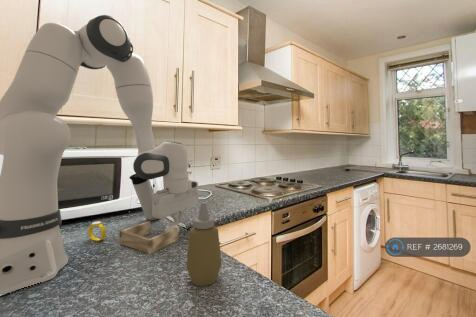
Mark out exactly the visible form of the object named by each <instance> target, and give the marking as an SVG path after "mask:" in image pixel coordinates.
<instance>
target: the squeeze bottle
mask: <svg viewBox="0 0 476 317" xmlns="http://www.w3.org/2000/svg"><path fill="white" fill-rule="evenodd" d="M188 234H189V235H188V236H189V237H188V243H187V244H188V245H187V256H186V269H187V270H186V271H187V274H188V275H189V278H190V281H191V282H192V284H194V285H196V286H198V287H199V286H201V287H206V286H209V285H212V284H214V283H215V282H216V281H217V278H218V277H219V276H218V275H219V272H220V269H221V266H222V255H221V254H222V253H221V246H220V238H219V237H220V236H219V229H218V228H217V226H215V219H214V217H213V216H210V214H209V209H208V206H207V202H201V203H200V207H199V211H198V216H197V217H195V218H193V226H192V227H191V228H190V229H189V233H188Z"/></svg>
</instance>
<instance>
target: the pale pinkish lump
mask: <svg viewBox="0 0 476 317" xmlns="http://www.w3.org/2000/svg"><path fill="white" fill-rule="evenodd" d="M174 228H178V233H179V232H180V228H179V225H178V224H176V223H174V222H169V223H167V226H166V227H165V229H164V232H167V231H169V230H171V229H174Z"/></svg>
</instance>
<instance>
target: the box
mask: <svg viewBox="0 0 476 317" xmlns="http://www.w3.org/2000/svg"><path fill="white" fill-rule="evenodd" d="M151 226H152V224H151V221H148V220H147V221H146V222H143V223H142V222H141V223H140V224H137V225H133V226H130V227H128V228H125V229H122V230H119V244H121V245H122V246H126V247H128V248H132V249H135V250H137V251H140V252H142V253H146V254H148V255H151V254H153V253H155V252H157V251H159V250H162V249H163V248H165V247H167V246H169V245H172V244H173V243H175V242H177V241H179V234H178V233H179V232H178V228H174V229H171V230H169V231H167V232H165V231H164V232H161V233H160V234H158V235H156V236H153V237H151V238H150V237H146V235H148V234H151V233H152V229H151V228H152V227H151Z"/></svg>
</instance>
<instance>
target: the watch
mask: <svg viewBox="0 0 476 317" xmlns="http://www.w3.org/2000/svg"><path fill="white" fill-rule="evenodd" d="M94 227H99V229H100V231H101V237H100V238H98V237H95V234H94V233H93V228H94ZM87 231H88V232H87V234H88V237H89V239H90V240H91V241H94V242H100V241H101V242H102V241H103V240H104V239H105V238H106V237H107V235H106V234H107V231H106V227H105V225H104V224H102V221H98V220H97V221H93V222H92V223H91V225H89V227H88V230H87Z"/></svg>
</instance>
